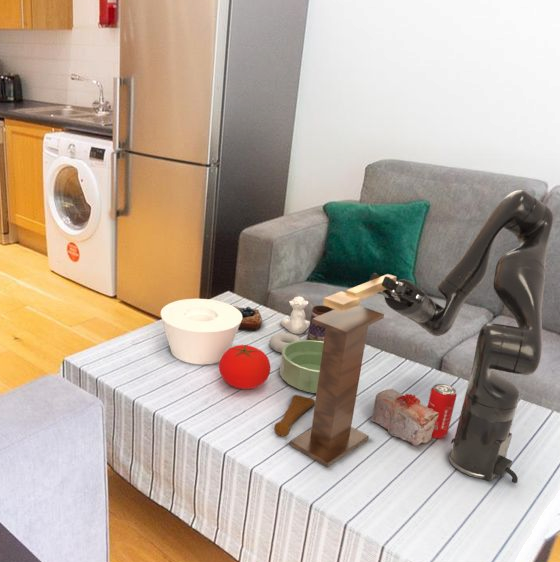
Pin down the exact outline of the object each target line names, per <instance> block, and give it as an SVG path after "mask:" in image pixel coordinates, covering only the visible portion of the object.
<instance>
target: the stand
mask: <svg viewBox="0 0 560 562" xmlns="http://www.w3.org/2000/svg"><path fill="white" fill-rule="evenodd" d="M384 317H385V314H384V313H382V312H379V311H376V310H373V309H370V308H367V307H365V306H361V305H360V304H359V305H357V306H355V307H352V308H350V309H348V310H345V311H343V312H341V311H338V310H336V309H334V310H332V311H330V312H327V313H325V314H322V315H320V316H318V317H315V318H313V319H312V323H314V324H316V325H319V326H321V327H324V328H326V329H325V336H324V343H323V351H322V358H321V365H320V372H319V379H318V386H317V393H315V394H316V396H315V400H314V401H315V404H314V407H313V418H312V422H311V423H312V424H311V428H309V429H308V430H306V431H305V432H303V433H301V434H300V435H298V436H296V437H294V438H293V439H291V440H290V441H289V446H291V447H292V448H294V449H295V450H297V451H299V452H301V453H302V454H303V455H305V456H307V457H309V458H311V459H312V460H314V461H315V462H317V463H319V464H320V465H322V466H324V467H326V468H328V467H330V466H332V465H333V464H334V463H336V462H338V461H339V460H341V459H343V458H344V457H345V456H347V455H348V454H350V453H351V452H353V451H354V450H355V449H357V448H358V447H361V446H362V445H363V444H364V443H366V442H368V441H369V438H370V435H368V434H366V433H364V432H362V431H360V430H358V429H357V428H355V427H352V425H353V424H352V423H353V418H354V417H353V416H354V414H355V413H354V411H355V407H356V400H357V394H358V388H359V382H360V377H361V370H362V365H363V359H364V353H365V347H366V342H367V341H366V340H367V335H368V329H369V326H370V325H372V324H374V323H377V322H379V321H381V320H383V319H384Z"/></svg>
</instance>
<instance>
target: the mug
mask: <svg viewBox="0 0 560 562" xmlns="http://www.w3.org/2000/svg"><path fill="white" fill-rule="evenodd" d="M332 310H334V309H333V308H330V307H327V306H325V305H315V306H313V307H312V309H311V315H310V320H309V321H310V326H309V327H308V329H307V337H306V340H316V341H323V342H324V336H325V329H326V328H324V327H321V326H319V325H316V324H314V323H312V319H313V318H315V317H318V316H320V315H322V314H325V313H327V312H330V311H332Z"/></svg>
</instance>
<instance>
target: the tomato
mask: <svg viewBox="0 0 560 562" xmlns="http://www.w3.org/2000/svg"><path fill="white" fill-rule="evenodd" d="M218 363H219V364H218V368H219V369H218V370H219V373H220V375H221V378H222V379H223V380H224V382H225V383H226V384H227V385H229V386H230V387H232V388H235V389H239V390H251V389H254V388H258V387H259V386H261V385H263V384H264V383H265V382H266V381H267V380H268V378H269V376H270V374H271V362H270V360H269V357H268V356H267V355H266V353H265V352H264V351H262V350H261V349H259V348H257V347H255V346H252V345H247V344H239V345H234V346H231V348H230V349H228V350H227V351H226V352H225V353H224V354H223V356H222V358H221V360H220V362H218Z"/></svg>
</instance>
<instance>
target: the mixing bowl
mask: <svg viewBox="0 0 560 562" xmlns="http://www.w3.org/2000/svg"><path fill="white" fill-rule="evenodd" d="M323 343H324V342H323V341H316V340H307V339H301V340H299V341H294V342H291V343H289V344H286V345H285V346H284V347H283V349H282V353H281V358H280V360H281V361H280V367H279V374H280V377H281V379H282V380H283V381H284V382H286V383H287V384H288V385H289V386H292V387H294V388H295V389H298V390H300V391H304V392H307V393H311V394H312V393H313V394H317V386H318V379H319V372H320V365H321V358H322V351H323Z"/></svg>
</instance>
